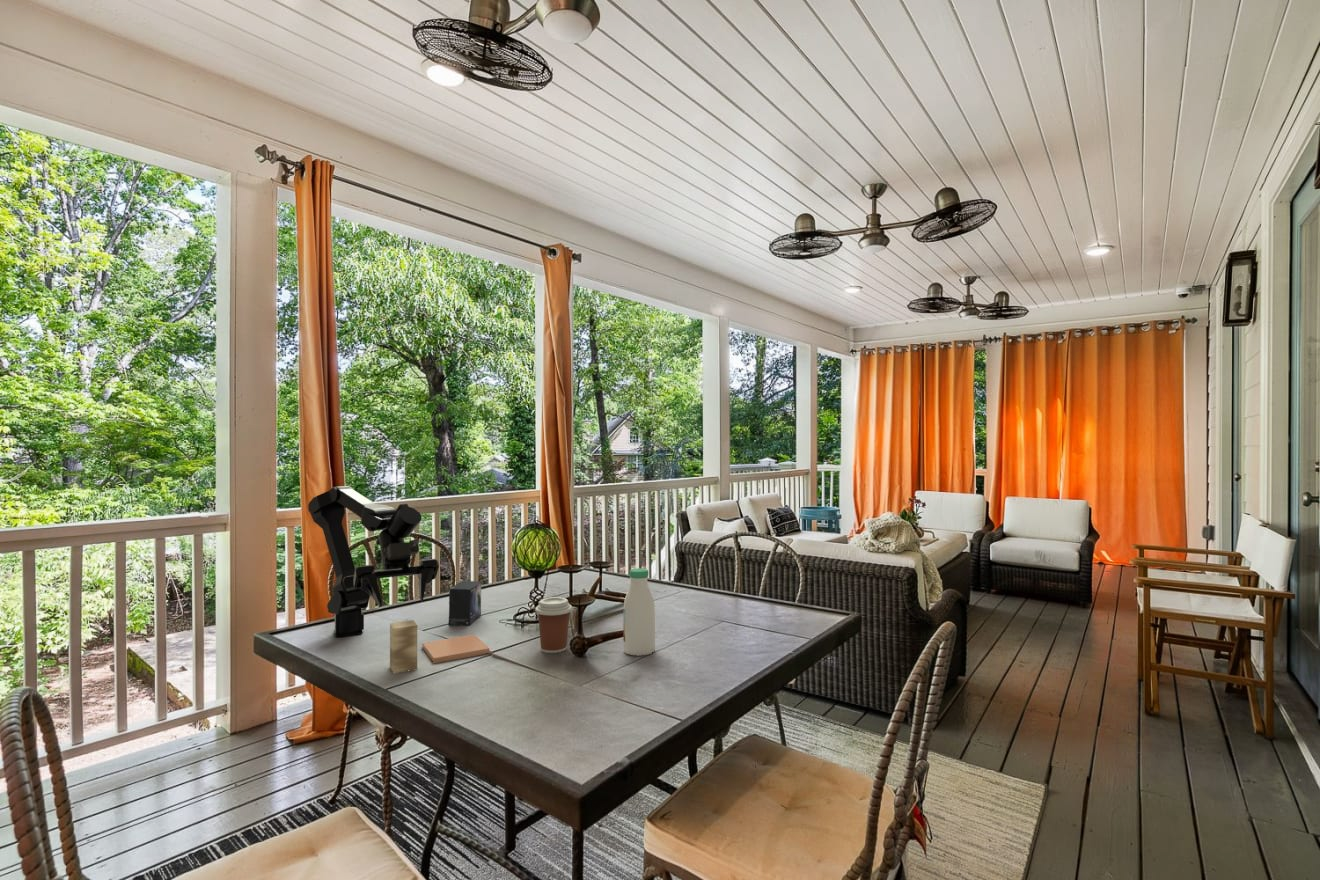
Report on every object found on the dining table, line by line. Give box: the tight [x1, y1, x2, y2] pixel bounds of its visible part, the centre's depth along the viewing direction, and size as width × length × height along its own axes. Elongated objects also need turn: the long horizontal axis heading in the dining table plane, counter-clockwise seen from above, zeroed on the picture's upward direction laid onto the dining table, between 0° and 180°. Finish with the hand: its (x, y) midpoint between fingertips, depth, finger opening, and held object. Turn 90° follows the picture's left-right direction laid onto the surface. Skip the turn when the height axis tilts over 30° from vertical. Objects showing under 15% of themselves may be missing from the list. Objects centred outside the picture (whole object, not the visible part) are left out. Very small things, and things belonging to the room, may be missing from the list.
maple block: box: [389, 619, 418, 674], centre depth 140 cm, size 5×5×10 cm
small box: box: [448, 580, 482, 626], centre depth 178 cm, size 11×6×10 cm, turn 179°
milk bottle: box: [622, 567, 656, 657], centre depth 151 cm, size 8×8×20 cm
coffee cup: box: [534, 596, 573, 654], centre depth 153 cm, size 9×9×12 cm
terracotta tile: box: [421, 634, 490, 664], centre depth 152 cm, size 13×13×1 cm
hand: (401, 602), depth 146 cm, fingers open, 9 cm apart
